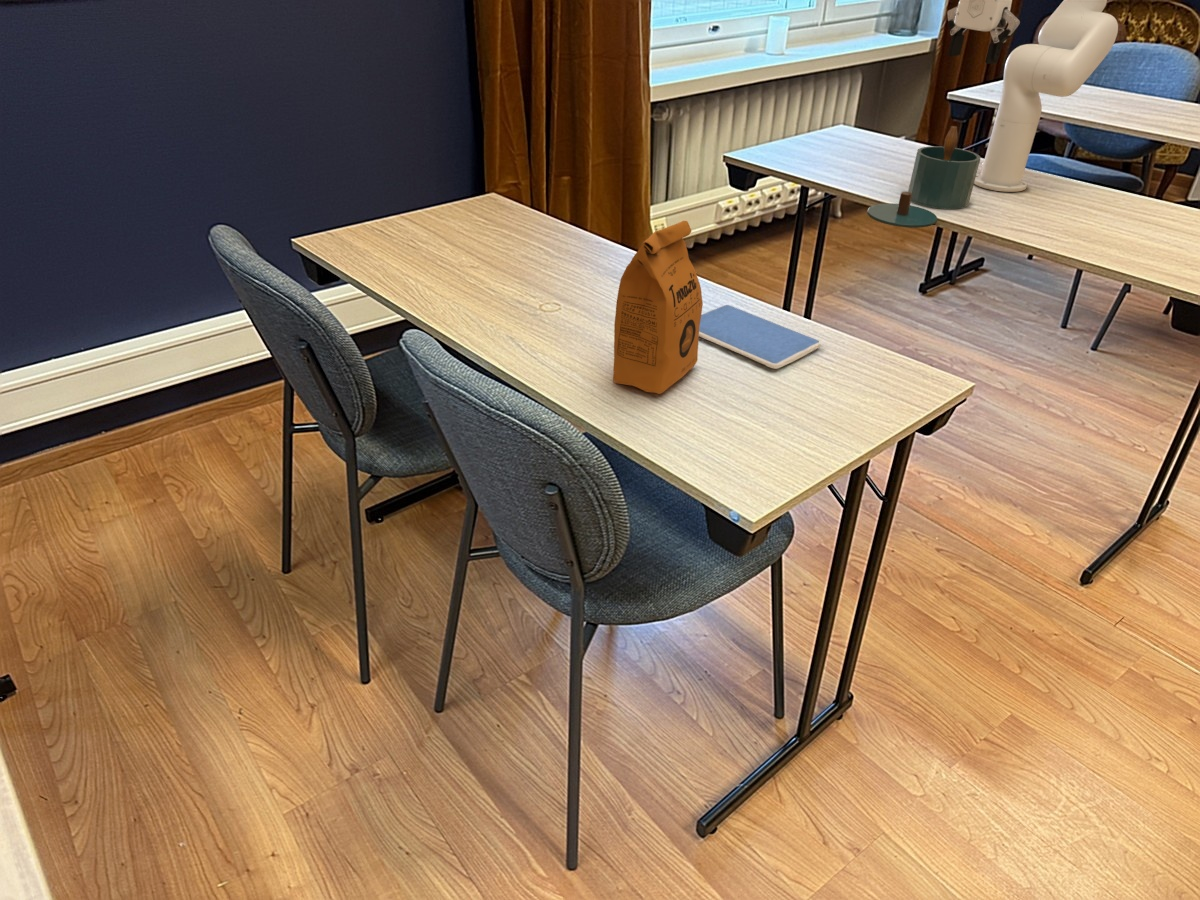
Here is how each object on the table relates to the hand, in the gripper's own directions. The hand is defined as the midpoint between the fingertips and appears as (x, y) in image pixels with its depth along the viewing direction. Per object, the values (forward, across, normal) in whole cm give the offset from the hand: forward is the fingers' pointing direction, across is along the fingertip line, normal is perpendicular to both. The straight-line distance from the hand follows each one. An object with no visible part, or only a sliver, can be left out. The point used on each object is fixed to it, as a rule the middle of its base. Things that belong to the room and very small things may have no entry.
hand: (972, 59), depth 184 cm
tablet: (+31, +37, -87) cm, 99 cm away
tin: (+30, 0, 0) cm, 30 cm away
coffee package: (+31, +41, -107) cm, 118 cm away
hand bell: (+30, 0, 0) cm, 30 cm away
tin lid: (+30, +6, -19) cm, 36 cm away
